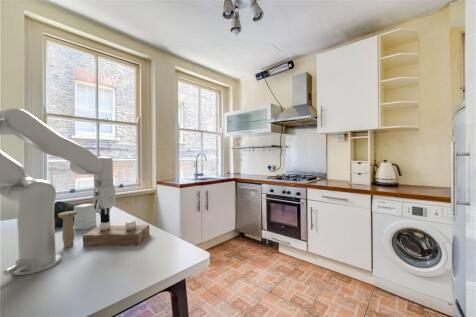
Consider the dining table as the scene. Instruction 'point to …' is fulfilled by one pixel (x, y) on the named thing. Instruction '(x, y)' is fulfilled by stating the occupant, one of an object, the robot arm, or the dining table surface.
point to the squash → (61, 211)
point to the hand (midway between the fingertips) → (105, 222)
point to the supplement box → (85, 216)
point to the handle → (68, 227)
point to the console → (116, 236)
